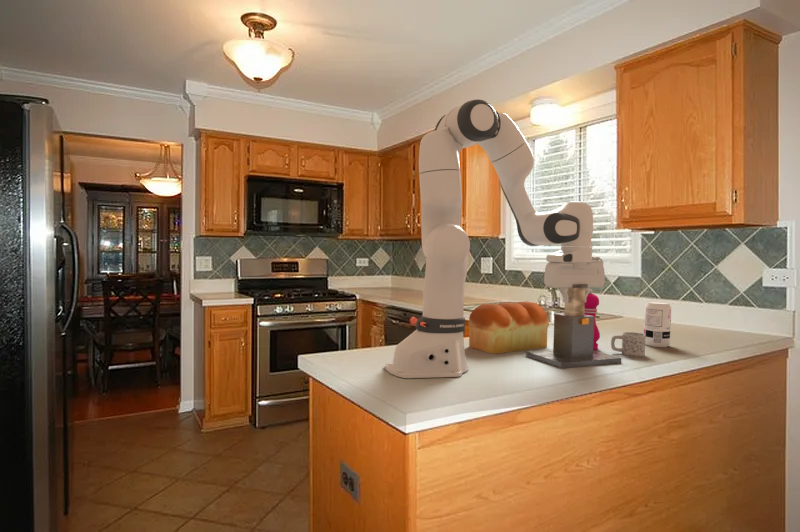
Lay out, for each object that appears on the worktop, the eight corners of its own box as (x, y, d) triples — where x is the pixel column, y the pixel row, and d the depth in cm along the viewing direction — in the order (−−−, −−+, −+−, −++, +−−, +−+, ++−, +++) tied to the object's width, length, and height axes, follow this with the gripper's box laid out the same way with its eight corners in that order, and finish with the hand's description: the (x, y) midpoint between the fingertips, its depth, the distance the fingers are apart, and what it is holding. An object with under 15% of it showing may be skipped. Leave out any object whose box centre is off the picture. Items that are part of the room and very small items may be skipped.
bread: (521, 340, 177) (522, 300, 177) (548, 347, 167) (550, 303, 166) (467, 347, 164) (468, 303, 164) (493, 354, 154) (494, 307, 153)
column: (571, 355, 145) (574, 284, 144) (560, 352, 150) (562, 283, 149) (585, 354, 147) (587, 284, 146) (573, 351, 152) (575, 283, 151)
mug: (642, 353, 160) (643, 332, 160) (646, 357, 153) (647, 336, 153) (609, 350, 162) (609, 330, 162) (612, 355, 156) (613, 334, 156)
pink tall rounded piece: (601, 351, 162) (603, 290, 161) (578, 349, 163) (580, 289, 162) (597, 346, 169) (599, 288, 168) (574, 345, 170) (577, 287, 169)
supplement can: (639, 342, 178) (641, 301, 177) (662, 343, 178) (664, 301, 177) (649, 347, 170) (651, 303, 169) (674, 347, 169) (676, 304, 169)
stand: (561, 368, 137) (562, 320, 136) (525, 356, 152) (527, 312, 151) (621, 362, 145) (623, 317, 145) (582, 351, 160) (583, 310, 159)
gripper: (595, 256, 154) (593, 300, 155) (541, 255, 146) (540, 302, 147) (611, 257, 148) (609, 303, 149) (556, 256, 140) (554, 304, 141)
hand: (574, 302), depth 148 cm, fingers closed on column, 4 cm apart
